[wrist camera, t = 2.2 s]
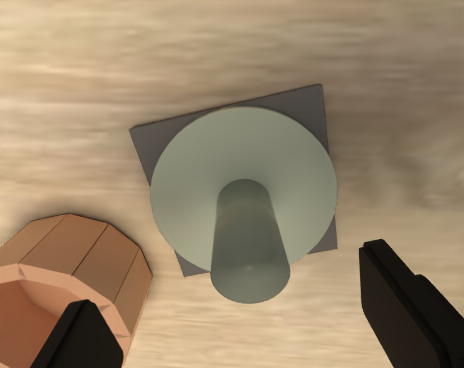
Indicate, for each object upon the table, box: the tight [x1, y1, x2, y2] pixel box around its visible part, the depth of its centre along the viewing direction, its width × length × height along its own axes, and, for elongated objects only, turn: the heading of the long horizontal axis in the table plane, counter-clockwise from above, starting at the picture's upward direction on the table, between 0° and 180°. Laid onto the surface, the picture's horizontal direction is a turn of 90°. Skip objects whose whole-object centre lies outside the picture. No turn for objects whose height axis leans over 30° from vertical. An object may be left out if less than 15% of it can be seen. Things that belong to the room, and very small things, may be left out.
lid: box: [150, 105, 338, 304], centre depth 15 cm, size 11×11×7 cm
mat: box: [129, 84, 338, 277], centre depth 18 cm, size 11×11×1 cm
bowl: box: [0, 214, 152, 368], centre depth 19 cm, size 10×10×5 cm
